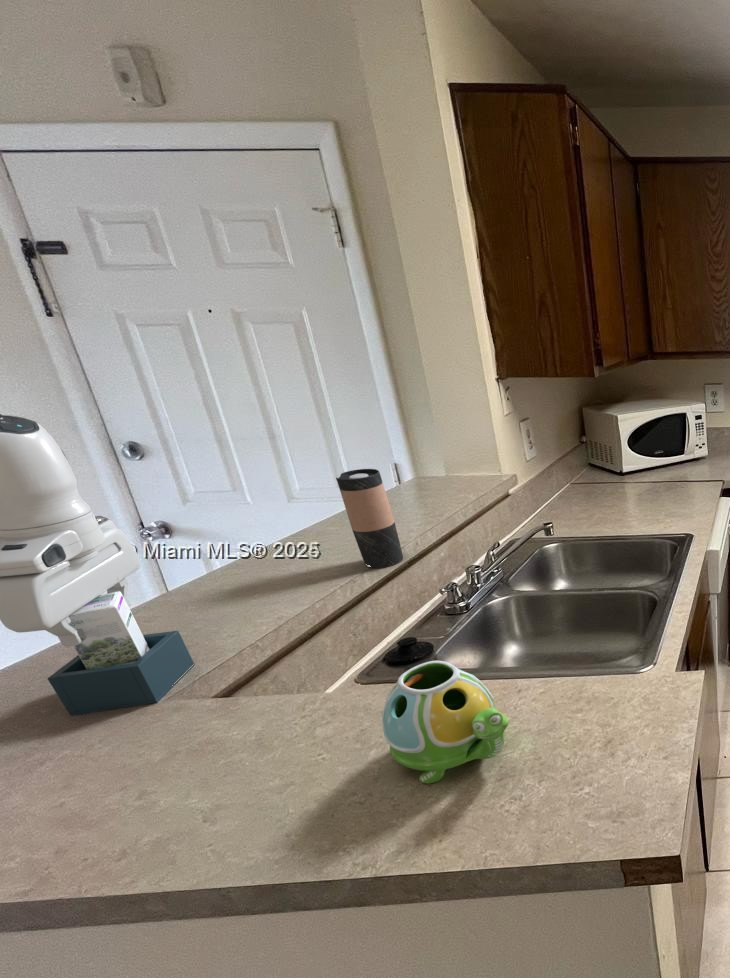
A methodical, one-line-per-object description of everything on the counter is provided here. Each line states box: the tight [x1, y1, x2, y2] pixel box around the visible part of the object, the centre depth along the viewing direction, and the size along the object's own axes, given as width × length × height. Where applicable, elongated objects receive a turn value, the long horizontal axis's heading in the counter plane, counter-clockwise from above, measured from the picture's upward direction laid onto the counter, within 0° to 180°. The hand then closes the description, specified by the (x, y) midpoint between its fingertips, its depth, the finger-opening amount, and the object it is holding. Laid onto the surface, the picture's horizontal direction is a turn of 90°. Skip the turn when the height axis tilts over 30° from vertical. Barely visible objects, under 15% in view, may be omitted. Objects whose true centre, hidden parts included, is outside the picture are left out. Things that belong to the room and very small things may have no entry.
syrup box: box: [68, 591, 150, 670], centre depth 89 cm, size 6×6×14 cm
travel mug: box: [335, 468, 404, 570], centre depth 129 cm, size 8×8×20 cm
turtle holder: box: [381, 660, 509, 784], centre depth 78 cm, size 12×18×12 cm
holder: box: [46, 630, 195, 716], centre depth 91 cm, size 10×10×6 cm
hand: (99, 625), depth 88 cm, fingers open, 8 cm apart
